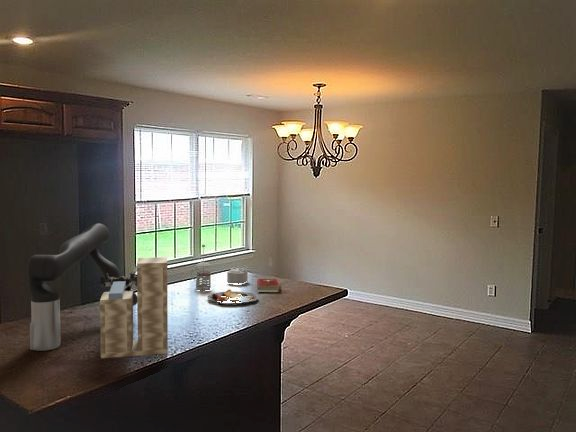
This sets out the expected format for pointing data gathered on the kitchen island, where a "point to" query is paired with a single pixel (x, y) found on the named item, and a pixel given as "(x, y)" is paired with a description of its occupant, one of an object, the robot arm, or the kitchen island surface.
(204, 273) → the french press
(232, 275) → the lumpy-topped squat cylinder
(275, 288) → the hardcover book
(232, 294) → the food plate
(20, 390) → the kitchen island surface
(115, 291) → the blue-grey flat bar
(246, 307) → the kitchen island surface
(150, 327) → the stepped stand
